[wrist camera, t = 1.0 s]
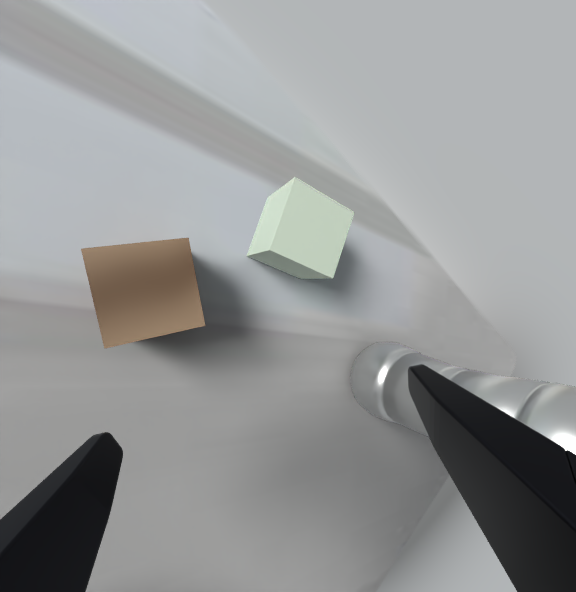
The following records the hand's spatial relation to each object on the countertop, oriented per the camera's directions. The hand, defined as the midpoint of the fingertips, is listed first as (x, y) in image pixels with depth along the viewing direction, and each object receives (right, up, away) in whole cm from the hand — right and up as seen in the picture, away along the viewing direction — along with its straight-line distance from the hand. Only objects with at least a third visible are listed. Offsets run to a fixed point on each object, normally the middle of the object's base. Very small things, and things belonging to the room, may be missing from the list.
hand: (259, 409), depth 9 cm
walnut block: (-9, +4, +11) cm, 15 cm away
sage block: (+1, +8, +15) cm, 17 cm away
